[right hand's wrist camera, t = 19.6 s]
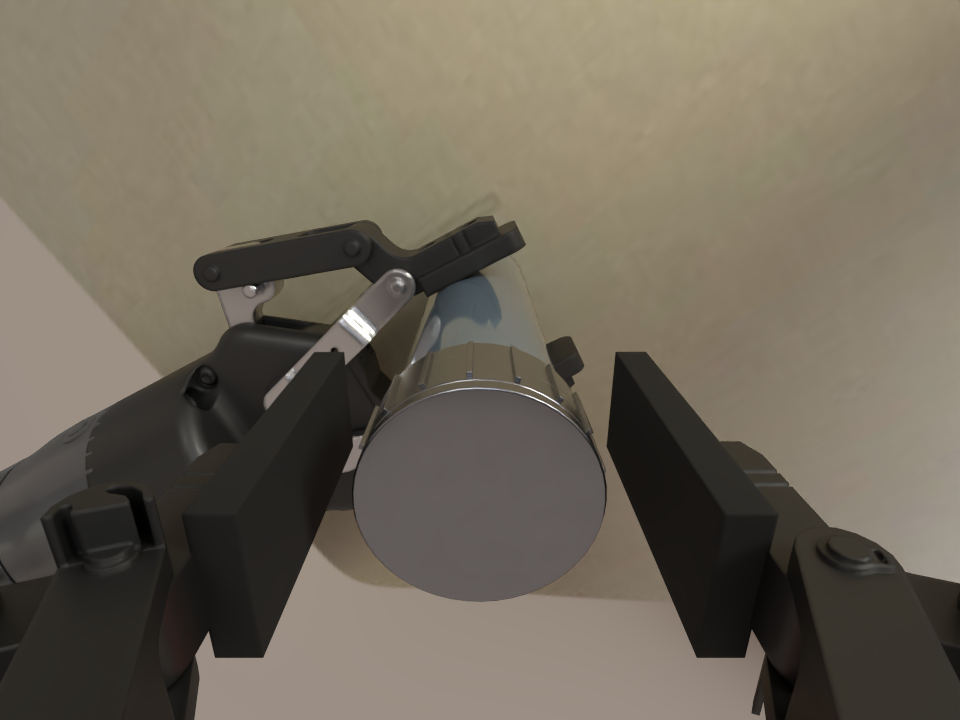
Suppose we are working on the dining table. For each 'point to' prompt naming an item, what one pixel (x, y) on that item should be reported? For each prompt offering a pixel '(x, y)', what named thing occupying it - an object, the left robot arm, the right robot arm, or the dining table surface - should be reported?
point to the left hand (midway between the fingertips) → (547, 295)
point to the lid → (479, 475)
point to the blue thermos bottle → (482, 314)
